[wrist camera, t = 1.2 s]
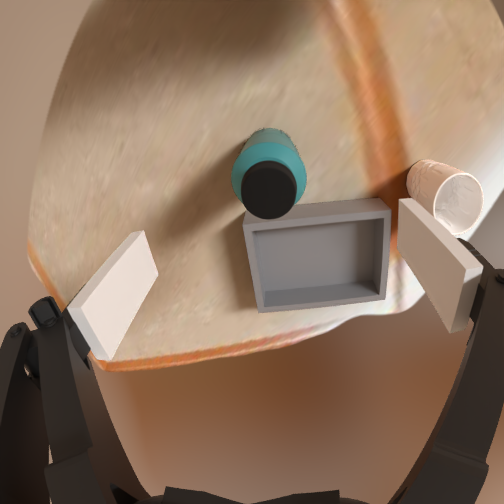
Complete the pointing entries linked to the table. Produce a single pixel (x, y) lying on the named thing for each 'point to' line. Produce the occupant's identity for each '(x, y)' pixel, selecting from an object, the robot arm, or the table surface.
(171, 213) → the table surface
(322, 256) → the trough tray
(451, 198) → the white cup
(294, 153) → the beverage bottle
